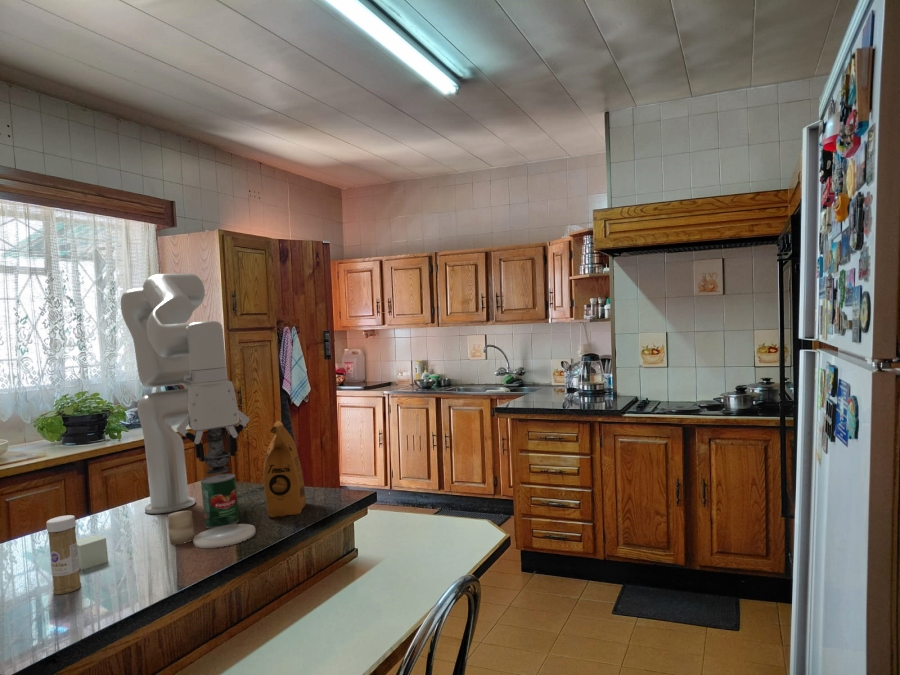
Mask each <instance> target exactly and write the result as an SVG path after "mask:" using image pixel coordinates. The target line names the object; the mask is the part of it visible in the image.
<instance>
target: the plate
mask: <svg viewBox="0 0 900 675" xmlns="http://www.w3.org/2000/svg"><path fill="white" fill-rule="evenodd" d="M255 535H256V527H255V525H253V524H250V523H235V524H232V525H225V526H220V527H216V528H208V529H206V530H204V531H201V532H199V533H198V534H196V535H194V538H193V540H192V543H193V546H194V545H195V547H196V548H198V547H199V548H198V549H217V547H219V548H223V547H224V546H225V547H229V545H230V546H233V544H234V545H237V544H240V543H243V542H245V541H247V539H248V540H250V539H251V538H252V537H254V536H255ZM242 541H243V542H242ZM225 547H224V548H225Z"/></svg>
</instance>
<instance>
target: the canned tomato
mask: <svg viewBox="0 0 900 675" xmlns="http://www.w3.org/2000/svg"><path fill="white" fill-rule="evenodd" d="M200 484H201V487H200V488H201V489H200V490H201V497H202V507H203V508H202V509H203V518H204V519H203V520H204V527H205V528H206V527H208V528H207V529H212V528H216V527H220V526H225V525H232V524H238V522H240V516H239V513H240V512H239V505H238V504H239V503H238V495H237V494H238V493H237V492H238V491H237V484H236V474H234V473H219V474H213V475H210V476H206V477H203V478H202V479H201V480H200Z"/></svg>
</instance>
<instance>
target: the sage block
mask: <svg viewBox="0 0 900 675" xmlns="http://www.w3.org/2000/svg"><path fill="white" fill-rule="evenodd" d="M76 541H77V550H78V559H79V568H80V569H79V570H81V569H82V570H81V571H83V569H84V570H86V568H87V569H89V567H90V568H93V567H96V566H98V565H101V563H102V564H104V563H107V562H109V555H108V545H107V538H106V537H104V536H100V535H98V534H94V535H90V536H87V537H84V538H81V539H76ZM92 566H93V567H92Z"/></svg>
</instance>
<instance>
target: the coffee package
mask: <svg viewBox="0 0 900 675" xmlns="http://www.w3.org/2000/svg"><path fill="white" fill-rule="evenodd" d="M269 432H270V433H271V434H274V436H273V438H272V439H271V441H270V442H269V446H268V448H267V450H266V455H265V458H264V459H265V460H264V463H263V464H264V465H263V472H262V474H263V475H262V476H263V477H262V478H263V489H264V495H265V502H266V510H267V511H266V512H267V514H268V516H270V517H271V518H275V517H281V518H283V517H286V516H293V515H300V514H301V513H302V511H303V509H305V506H306V501H307V500H306V493H305V490H306V489H305V482H304V475H303V471H302V464H301V461H300V456H299V453H298V449H297V445H296V442H295V440H294V439H293V436H292V435H291V434H290V433H289V432H288V430H287V429H286V428H285V427H284V424H283V422H281V421H280V420H277V421H276V422H274V423H273V426H272V428H271V429H270V431H269Z"/></svg>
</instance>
